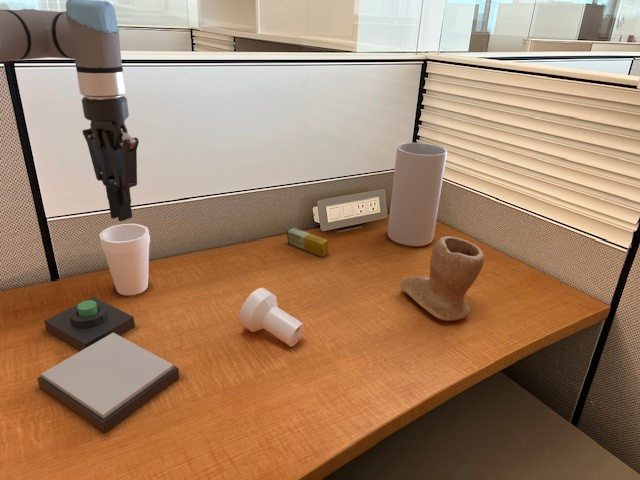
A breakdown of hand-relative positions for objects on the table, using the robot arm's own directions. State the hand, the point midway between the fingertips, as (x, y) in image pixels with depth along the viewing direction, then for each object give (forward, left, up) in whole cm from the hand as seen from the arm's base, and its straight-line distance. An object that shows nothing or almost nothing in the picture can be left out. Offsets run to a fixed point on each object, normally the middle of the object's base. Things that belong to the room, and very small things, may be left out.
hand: (121, 217), depth 96 cm
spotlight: (+34, +4, -17) cm, 38 cm away
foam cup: (0, 0, -17) cm, 17 cm away
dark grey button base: (+6, -14, -16) cm, 22 cm away
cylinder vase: (+39, +61, -17) cm, 74 cm away
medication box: (+20, +38, -17) cm, 46 cm away
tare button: (+6, -14, -13) cm, 20 cm away
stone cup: (+57, +33, -17) cm, 68 cm away
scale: (+21, -21, -16) cm, 34 cm away
